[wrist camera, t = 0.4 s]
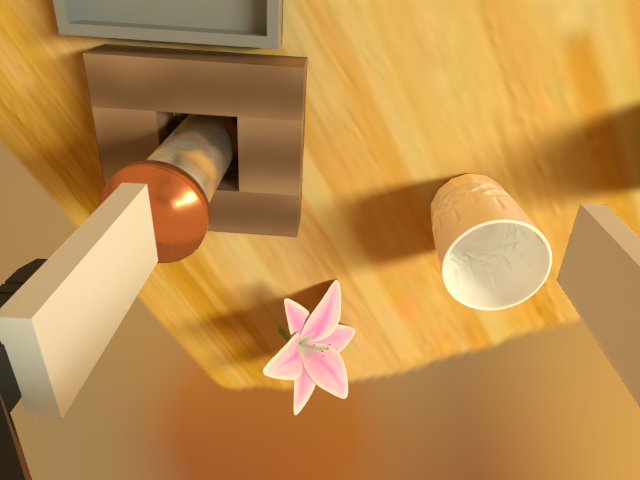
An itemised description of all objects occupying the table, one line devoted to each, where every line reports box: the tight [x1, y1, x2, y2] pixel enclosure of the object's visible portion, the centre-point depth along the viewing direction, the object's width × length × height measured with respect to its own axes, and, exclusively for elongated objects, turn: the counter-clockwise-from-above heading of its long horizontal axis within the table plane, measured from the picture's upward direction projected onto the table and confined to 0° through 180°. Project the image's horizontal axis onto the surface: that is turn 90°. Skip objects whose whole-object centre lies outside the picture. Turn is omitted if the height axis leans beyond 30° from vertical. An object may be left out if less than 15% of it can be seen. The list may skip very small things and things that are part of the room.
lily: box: [263, 280, 355, 415], centre depth 50 cm, size 12×12×10 cm
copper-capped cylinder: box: [99, 114, 238, 263], centre depth 37 cm, size 6×6×15 cm
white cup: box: [431, 173, 552, 310], centre depth 42 cm, size 8×8×10 cm
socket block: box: [83, 44, 307, 237], centre depth 42 cm, size 14×16×4 cm
